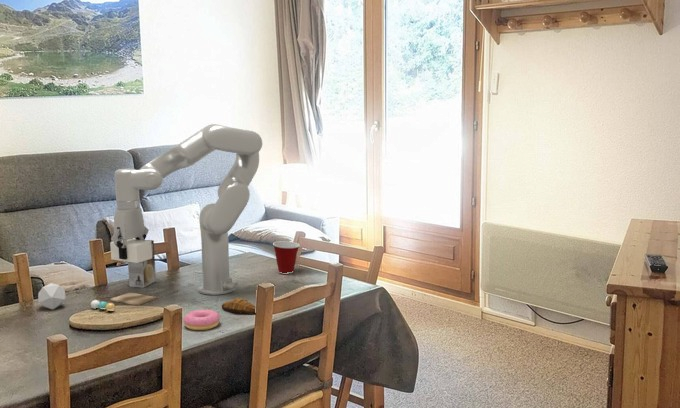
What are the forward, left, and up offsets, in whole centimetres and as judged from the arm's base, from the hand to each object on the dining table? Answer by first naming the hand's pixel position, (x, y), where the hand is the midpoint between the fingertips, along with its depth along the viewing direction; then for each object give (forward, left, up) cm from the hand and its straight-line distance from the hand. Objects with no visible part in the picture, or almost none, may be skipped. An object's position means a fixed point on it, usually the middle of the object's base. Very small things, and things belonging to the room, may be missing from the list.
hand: (131, 256), depth 227 cm
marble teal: (0, +14, -15) cm, 20 cm away
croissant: (-40, -6, -16) cm, 44 cm away
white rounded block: (0, 0, -1) cm, 1 cm away
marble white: (+4, +14, -15) cm, 21 cm away
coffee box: (+12, -16, -16) cm, 25 cm away
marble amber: (-3, +14, -15) cm, 21 cm away
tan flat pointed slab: (0, 0, -15) cm, 15 cm away
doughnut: (-38, +10, -16) cm, 43 cm away
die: (+18, +19, -16) cm, 30 cm away
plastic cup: (-27, -55, -16) cm, 63 cm away
